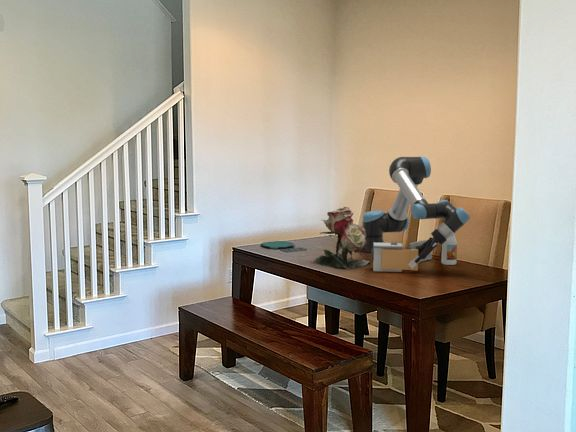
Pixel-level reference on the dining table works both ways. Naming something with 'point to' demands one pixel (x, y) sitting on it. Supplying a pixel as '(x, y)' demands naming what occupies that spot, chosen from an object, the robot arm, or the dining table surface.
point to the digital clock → (416, 245)
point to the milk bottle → (449, 251)
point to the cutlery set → (281, 246)
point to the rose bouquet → (344, 240)
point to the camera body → (377, 255)
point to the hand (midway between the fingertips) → (409, 264)
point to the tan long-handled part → (398, 259)
